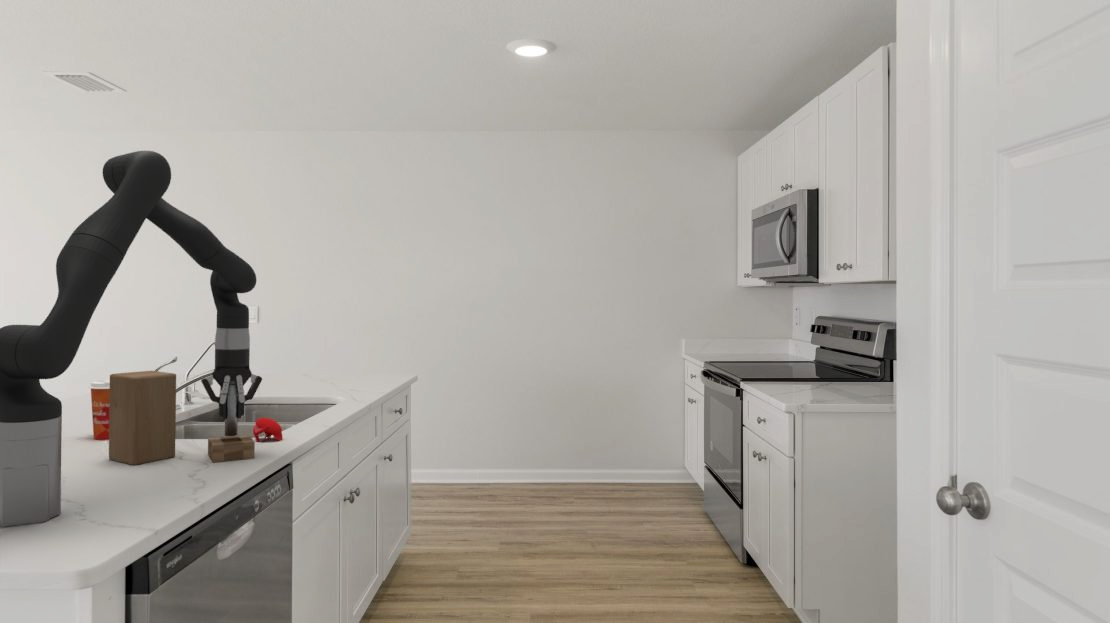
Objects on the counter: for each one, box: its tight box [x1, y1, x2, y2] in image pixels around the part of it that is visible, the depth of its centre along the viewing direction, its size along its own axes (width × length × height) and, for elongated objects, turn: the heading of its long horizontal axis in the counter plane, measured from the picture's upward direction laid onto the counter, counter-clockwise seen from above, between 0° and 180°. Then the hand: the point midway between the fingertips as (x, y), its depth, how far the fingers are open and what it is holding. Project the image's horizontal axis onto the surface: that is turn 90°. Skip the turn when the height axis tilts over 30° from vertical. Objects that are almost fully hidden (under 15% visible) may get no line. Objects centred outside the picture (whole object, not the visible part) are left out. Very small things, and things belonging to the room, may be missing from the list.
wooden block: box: [108, 370, 177, 466], centre depth 157 cm, size 10×10×20 cm
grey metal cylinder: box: [224, 378, 239, 437], centre depth 161 cm, size 3×3×14 cm
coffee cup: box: [88, 379, 110, 441], centre depth 177 cm, size 8×8×15 cm
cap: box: [252, 417, 283, 442], centre depth 180 cm, size 8×6×6 cm
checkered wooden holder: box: [207, 434, 256, 463], centre depth 161 cm, size 9×9×4 cm
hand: (231, 417), depth 161 cm, fingers closed on grey metal cylinder, 2 cm apart
